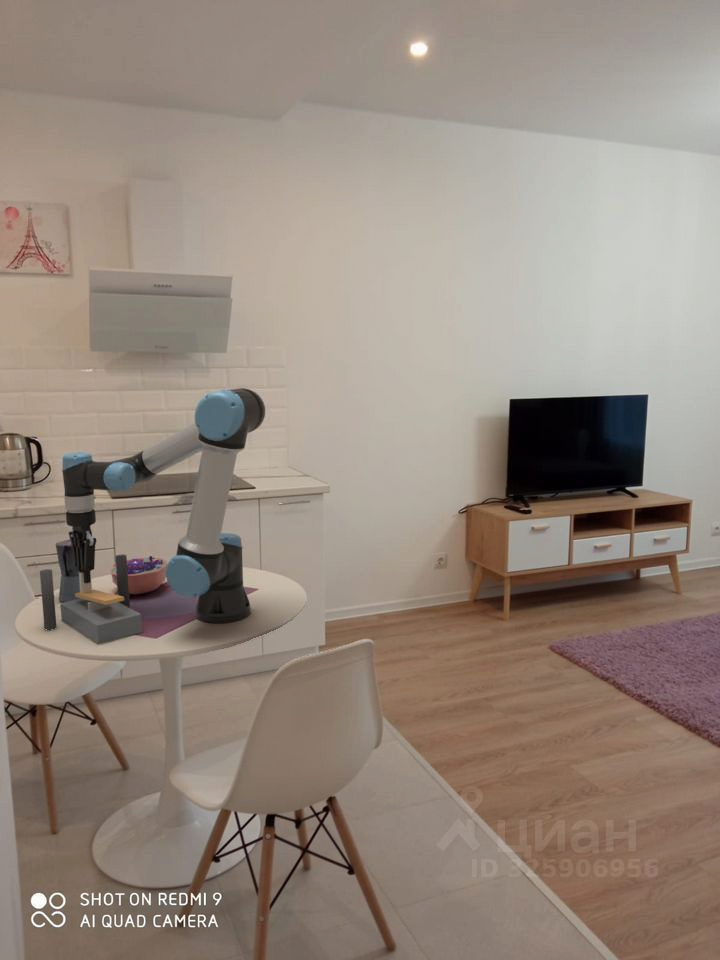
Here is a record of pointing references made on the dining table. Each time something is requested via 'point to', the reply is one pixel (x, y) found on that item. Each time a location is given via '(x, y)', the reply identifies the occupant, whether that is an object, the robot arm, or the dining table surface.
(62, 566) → the moka pot
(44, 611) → the post
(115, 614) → the block
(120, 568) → the post
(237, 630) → the dining table surface
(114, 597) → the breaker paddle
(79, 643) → the dining table surface
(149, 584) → the cell model
